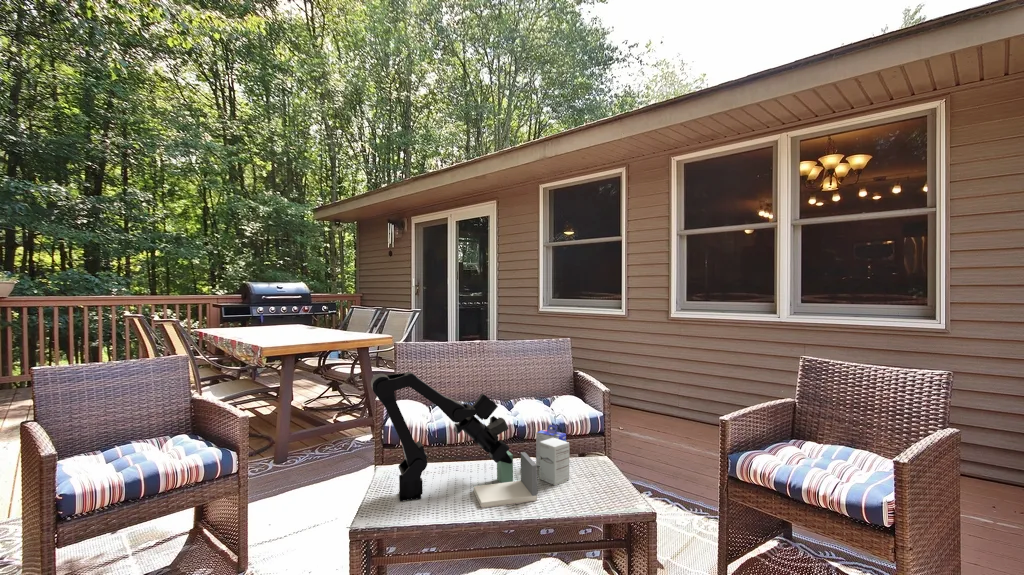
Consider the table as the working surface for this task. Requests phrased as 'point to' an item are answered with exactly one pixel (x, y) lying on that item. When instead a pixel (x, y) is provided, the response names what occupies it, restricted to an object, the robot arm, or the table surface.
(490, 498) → the shelf board
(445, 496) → the table surface
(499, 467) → the mint green square pillar
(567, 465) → the supplement box
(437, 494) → the table surface
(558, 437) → the ink cartridge box
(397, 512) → the table surface
